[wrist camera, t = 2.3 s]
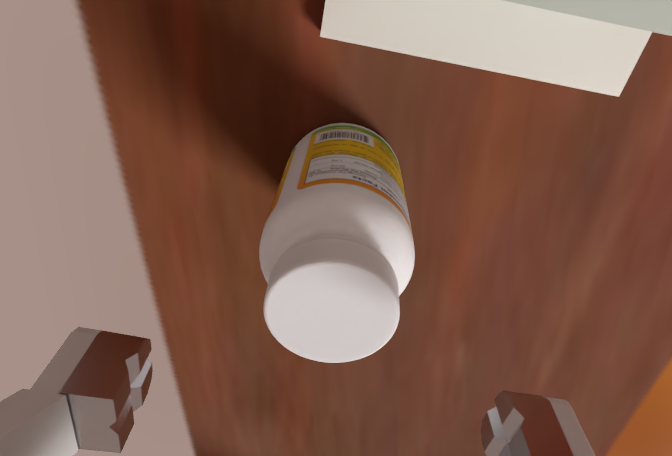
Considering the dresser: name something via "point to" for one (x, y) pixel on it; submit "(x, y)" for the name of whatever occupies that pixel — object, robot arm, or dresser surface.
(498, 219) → the dresser surface
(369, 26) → the caddy
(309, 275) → the supplement bottle
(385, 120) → the dresser surface
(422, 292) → the dresser surface
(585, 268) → the dresser surface
